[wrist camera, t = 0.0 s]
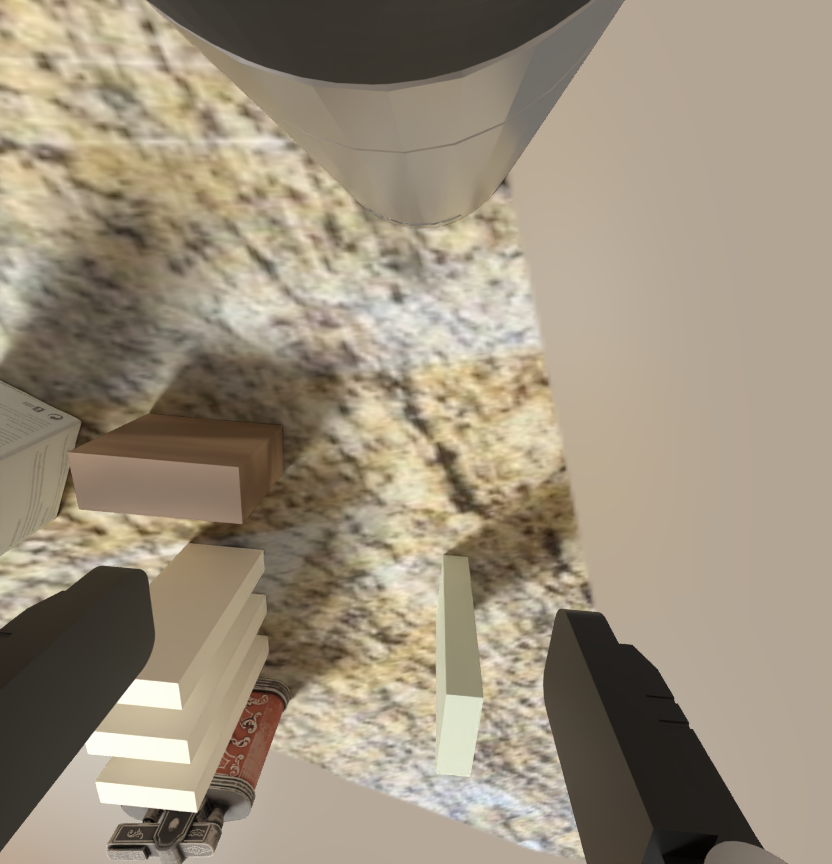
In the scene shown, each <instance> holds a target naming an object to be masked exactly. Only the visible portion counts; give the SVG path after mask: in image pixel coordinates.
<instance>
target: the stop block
mask: <svg viewBox="0 0 832 864" xmlns="http://www.w3.org/2000/svg"><path fill="white" fill-rule="evenodd" d="M67 455H68V459H69V464H70V469H71V474H72V478H73V483H74V488H75V493H76V498H77V502H78V507H79V509H81V510H92V511H103V512H114V513H125V514H136V515H147V516H158V517H169V518H180V519H191V520H202V521H213V522H224V523H235V524H243V523H244V522H245V520H246V519H247V518H248V517H249V515H250V514H251V513H252V511H253V510H254V509H255V508H256V506H257V505H258V504H259V503H260V501H261V500H262V499H263V498H264V496H265V495H266V494H267V492H268V491H269V490H270V489H271V487H272V486H273V485H274V484H275V482H276V481H277V480H278V479H279V477H280V476H281V475H282V473H283V472H284V460H283V427H282V425H273V424H262V423H250V422H239V421H227V420H215V419H204V418H192V417H181V416H169V415H157V414H146V415H144V416H142V417H140V418H138V419H136V420H134V421H132V422H129V423H127V424H125V425H123V426H121V427H119V428H117V429H115V430H113V431H110V432H108V433H106V434H104V435H102V436H100V437H98V438H96V439H94V440H91V441H89V442H87V443H85V444H83V445H81V446H79V447H77V448H74V449H72V450H70V451H68V452H67Z"/></svg>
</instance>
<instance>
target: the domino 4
mask: <svg viewBox="0 0 832 864" xmlns="http://www.w3.org/2000/svg"><path fill="white" fill-rule="evenodd" d="M483 699H484V697H483V688H482V679H481V670H480V661H479V652H478V642H477V633H476V624H475V615H474V606H473V597H472V588H471V579H470V570H469V561H468V557H463V556H452V555H443V561H442V570H441V579H440V588H439V597H438V605H437V614H436V773H437V774H447V775H457V776H467V777H470V774H471V769H472V763H473V757H474V751H475V745H476V739H477V734H478V728H479V722H480V716H481V710H482V704H483Z"/></svg>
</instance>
